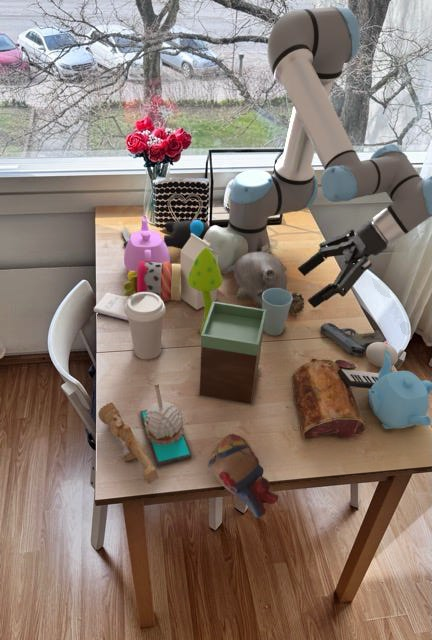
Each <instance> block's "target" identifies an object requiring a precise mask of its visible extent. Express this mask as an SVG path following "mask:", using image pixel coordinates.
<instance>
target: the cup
mask: <svg viewBox="0 0 432 640" xmlns="http://www.w3.org/2000/svg"><path fill="white" fill-rule="evenodd" d="M290 293H291V292H290ZM290 293H289V292H288V291H286V290H284V289H280V288H271V289H268V290H266V291H264V292H263V294H262V309H265V310H267V311H266V319H265V324H264V330H263V333H265V334H266V335H269V336H278V335H281V334H282V333H283V331H284V328H285V325H286V321H287V318H288V315H289V313H290V312H289V309H290V306H291V303H292V299H293V298H292V295H291V294H292V293H291V294H290Z"/></svg>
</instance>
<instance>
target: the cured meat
mask: <svg viewBox="0 0 432 640" xmlns="http://www.w3.org/2000/svg"><path fill="white" fill-rule="evenodd" d="M340 368H341V369H344V370H354V371H355V370H356V369H357V368H358V367H357V365H356V364H355V363H354V362H351V361H347V360H345V359H336V360H335V361H334V360H333V359H332V360H331V359H317V358H313V357H312V358H311V359H310V360H309V362H307V363H304V364H302V365H301V366H299V367H297V368H296V369H295V370H294V371H293V372H292V375H291V382H292V386H293V396H294V402H295V405H296V410H297V413H298V419H299V423H300V429H301V435H302V438H303V439H312V438H314V437H316V436H317V437H319V436H324V435H325V436H326V435H330V434H333V433H334V434H335V437H336V438H339V439H347V438H352V437H357V436H361V435H363V434H365V432H366V430H367V428H366V425H365V423H364V421H363V418H362V415H361V413H360V410H359V408H358V405H357V401H356V398H355V396H354V393H353V391H352V387H349V386H348V385H347V384H346V382H345V381H344V380H343V379H342V377H341V376H340V375H339V374H338V370H339V369H340Z"/></svg>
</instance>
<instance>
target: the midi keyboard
mask: <svg viewBox="0 0 432 640" xmlns="http://www.w3.org/2000/svg"><path fill="white" fill-rule="evenodd" d="M338 374H339V375H340V376H341V377H342V379H343V380H344V381H345V382H346V384H347V385H348V386H349V387H350V388H360V389H369V390H370V389H371V387H372V386H373V384H374V383H375V382H376V381H377V380H378V375H379V372H371V371H361V370H355V369H354V370H344V369H341V368H340V369H339V370H338Z"/></svg>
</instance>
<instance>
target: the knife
mask: <svg viewBox="0 0 432 640" xmlns="http://www.w3.org/2000/svg"><path fill="white" fill-rule="evenodd" d="M121 234H122V237H123V238H124V240H125V242H123V246H124V247H126V246H127V243H128V241H129V239H130V237H131V235H130V234H129V232H128V230H127V227H126V226H124V227H123V229H122V233H121Z"/></svg>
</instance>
